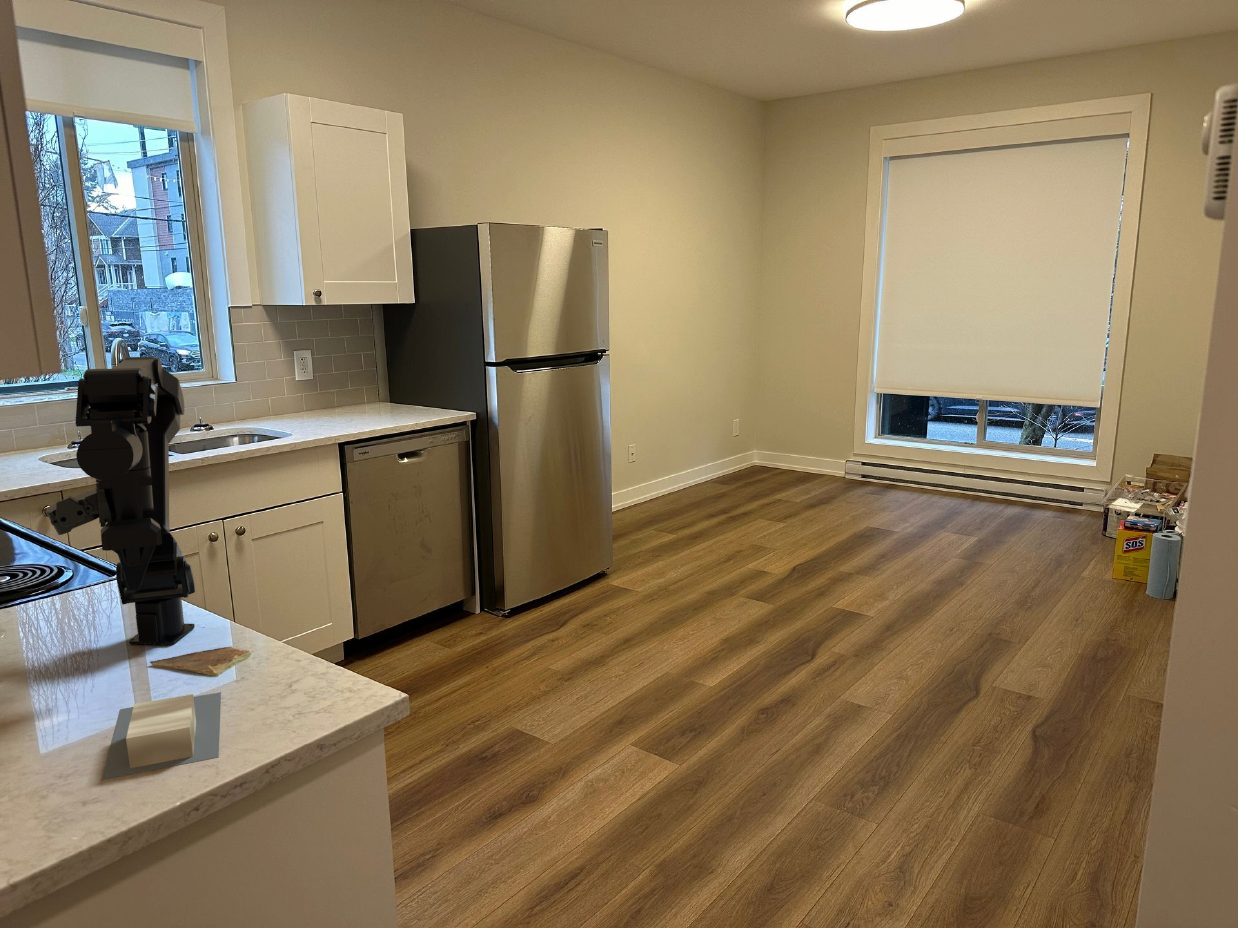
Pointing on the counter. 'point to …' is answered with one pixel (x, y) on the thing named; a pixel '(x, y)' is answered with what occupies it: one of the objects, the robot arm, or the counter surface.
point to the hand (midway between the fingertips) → (134, 589)
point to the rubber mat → (203, 750)
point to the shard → (206, 660)
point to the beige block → (161, 731)
